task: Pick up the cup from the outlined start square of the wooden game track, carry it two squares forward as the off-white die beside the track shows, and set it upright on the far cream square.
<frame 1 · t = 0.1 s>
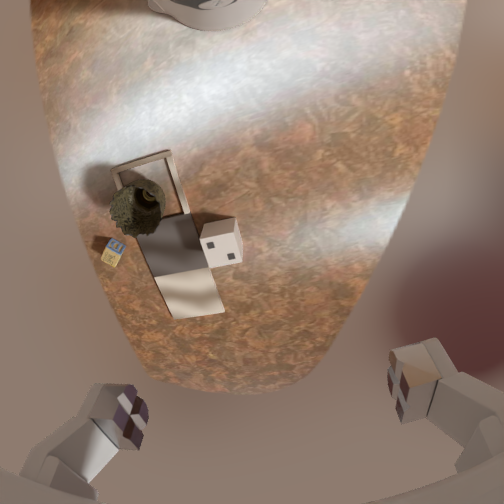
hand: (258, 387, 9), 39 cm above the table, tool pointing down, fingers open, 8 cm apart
alphabet block: (116, 247, 52), on the table
die: (223, 234, 50), on the table
game track: (171, 245, 51), on the table
cup: (151, 191, 47), resting in game track
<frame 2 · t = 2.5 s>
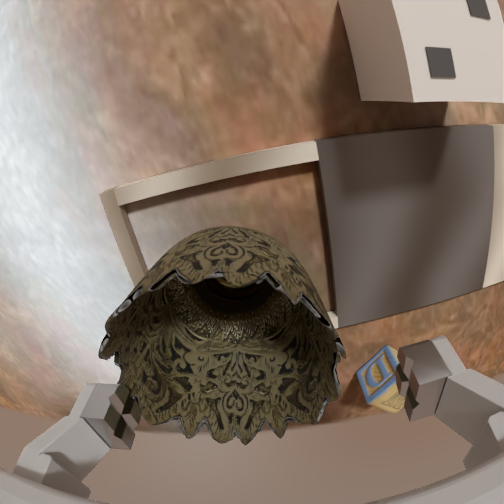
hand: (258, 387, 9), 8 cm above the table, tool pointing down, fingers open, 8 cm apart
alphabet block: (383, 362, 20), on the table
die: (399, 47, 11), on the table
game track: (418, 224, 15), on the table
cup: (236, 258, 16), resting in game track, touching gripper
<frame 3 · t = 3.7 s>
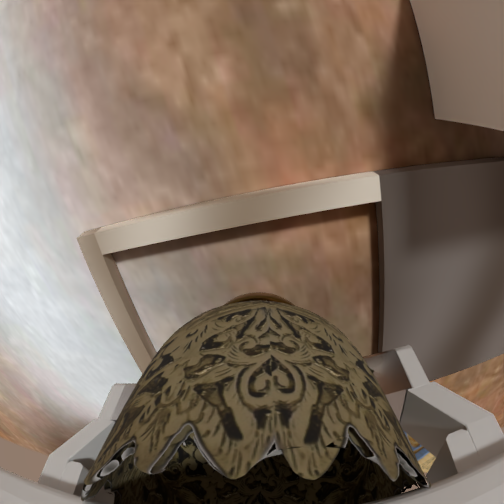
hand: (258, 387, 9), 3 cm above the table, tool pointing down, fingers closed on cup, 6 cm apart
alphabet block: (418, 418, 15), on the table
die: (478, 50, 7), on the table
game track: (482, 276, 11), on the table
cup: (259, 322, 12), resting in game track, touching gripper
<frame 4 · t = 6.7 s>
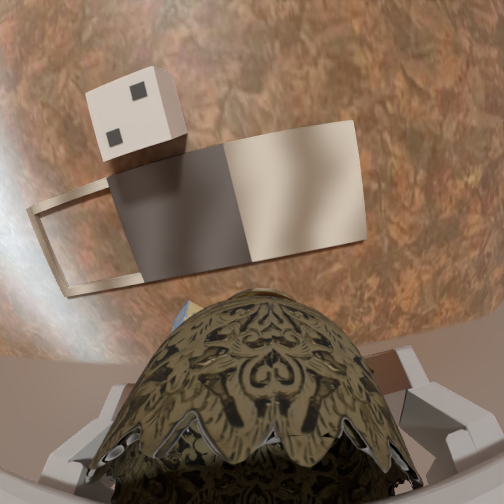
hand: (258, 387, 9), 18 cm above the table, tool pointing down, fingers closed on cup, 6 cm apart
alphabet block: (195, 315, 31), on the table
die: (149, 112, 22), on the table
game track: (179, 217, 26), on the table
cup: (261, 317, 12), point 15 cm above the table, touching gripper
when the fingers open (5 cm above the table, at t = 9.9 s): cup drops 1 cm, resting on game track.
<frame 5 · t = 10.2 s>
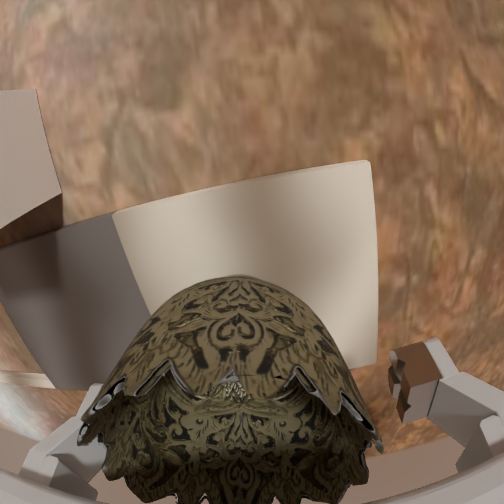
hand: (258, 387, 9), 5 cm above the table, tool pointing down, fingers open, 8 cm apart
die: (11, 158, 11), on the table
game track: (76, 320, 15), on the table
cup: (240, 303, 13), resting on game track, touching gripper
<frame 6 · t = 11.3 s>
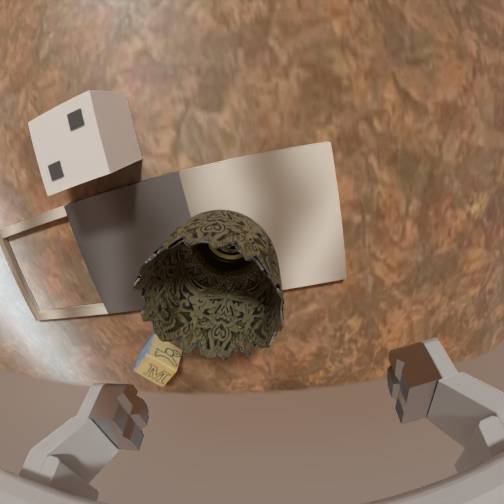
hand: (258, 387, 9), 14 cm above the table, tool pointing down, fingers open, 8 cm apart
alphabet block: (162, 348, 28), on the table
die: (103, 136, 20), on the table
game track: (138, 249, 23), on the table
cup: (232, 231, 22), point 1 cm above the table, touching game track
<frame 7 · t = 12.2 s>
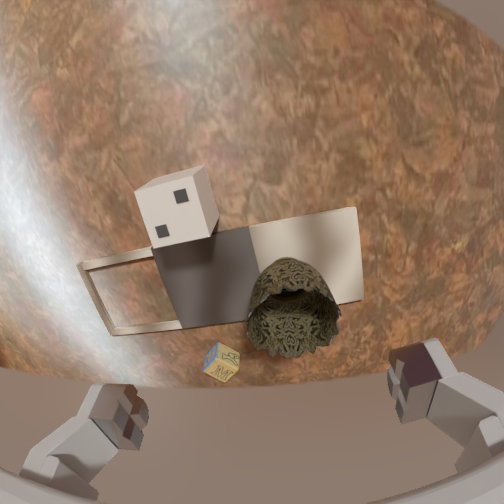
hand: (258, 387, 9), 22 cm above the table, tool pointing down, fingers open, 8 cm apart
alphabet block: (223, 352, 37), on the table
die: (186, 197, 29), on the table
game track: (212, 280, 32), on the table
cup: (285, 268, 31), point 1 cm above the table, touching game track
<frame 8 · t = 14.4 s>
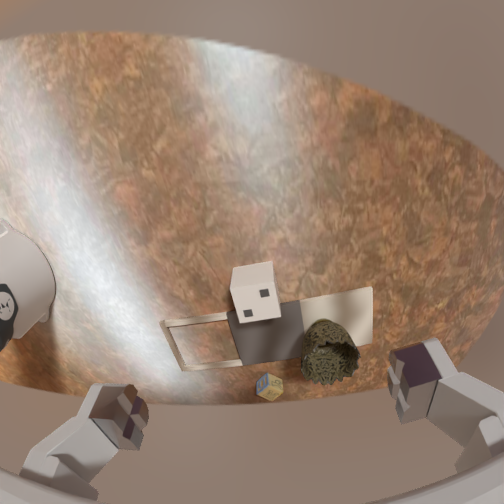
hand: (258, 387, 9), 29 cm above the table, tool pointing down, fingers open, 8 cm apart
alphabet block: (269, 379, 49), on the table
die: (256, 281, 41), on the table
game track: (269, 334, 45), on the table
cup: (321, 325, 43), resting on game track
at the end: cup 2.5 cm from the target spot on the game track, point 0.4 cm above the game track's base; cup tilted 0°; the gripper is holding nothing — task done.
